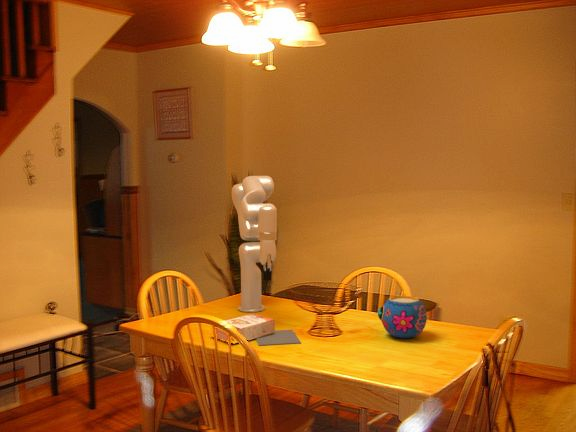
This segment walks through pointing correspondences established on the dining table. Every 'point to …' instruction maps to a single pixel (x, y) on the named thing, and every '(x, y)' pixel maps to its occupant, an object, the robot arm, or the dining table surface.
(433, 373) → the dining table surface
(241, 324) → the cracker box
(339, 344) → the dining table surface
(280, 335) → the mat
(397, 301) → the ceramic pot
